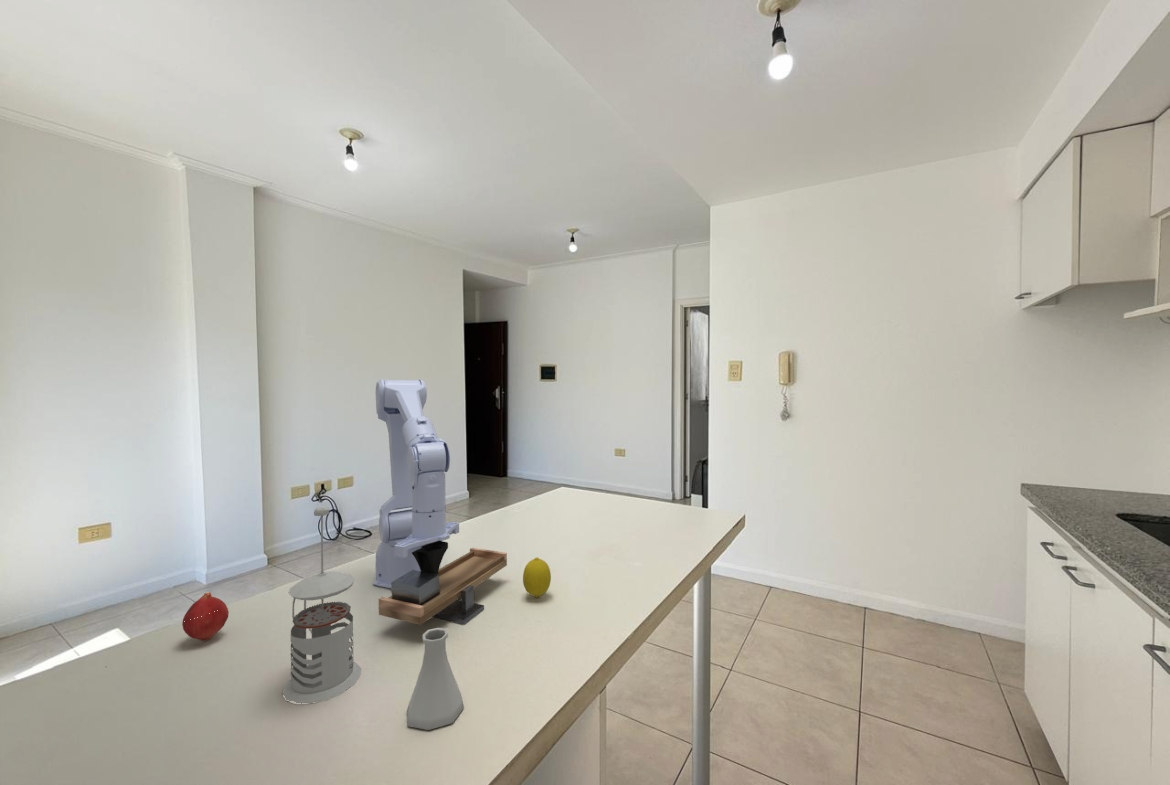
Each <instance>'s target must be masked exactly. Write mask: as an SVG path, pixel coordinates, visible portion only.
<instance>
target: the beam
mask: <svg viewBox="0 0 1170 785" xmlns="http://www.w3.org/2000/svg"><path fill="white" fill-rule="evenodd" d="M507 557H508V555H507V552H503V551H497V550H490V549H484V548H477V547H471V548H469V551H468V552H467V553H465V554H463V555H461V556H460V557H458V558H456V559H455V560H453V561H451V562H449V563H447V564H445V565H444V566H442V567H439V571H438V575H439V584H440V595H438V596H436V597H435V598H433V599H432V600H430V601H429V602H427V603H425V604H424V605H422V606H421V605H417V604H412V603H408V602H403V601H399V600H394V599H392V595H390V596H388V597H384V596H381V597H380V598H378V615H379V616H383V617H387V618H391V619H396V620H399V621H404V622H407V623H412V624H415V625H419V626H421V625H422V624H424V623H426V622H427V621H428V620H430V619H431V618H433V616H434V615H435V614H437V613H438V612H440V611H441V610H443V609H444V608H446V607H447V606H449V605H450V604H451V603H453V602H454V601H456V600H460V599H461V590H463V589H464V588H466V587H467V586H469V585H471V586H474V589H475V588H476V587H478V586H479V585H480V584H482V583H484V582H485V581H487V580H488V579H490V577H492V576H494V575H495V574H496V573H498V572H499V571H500V570H502V569H504V568H505V567H507V565H508V558H507Z"/></svg>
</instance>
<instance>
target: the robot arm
mask: <svg viewBox="0 0 1170 785" xmlns="http://www.w3.org/2000/svg"><path fill="white" fill-rule="evenodd" d="M427 390H428V388H427V385H426V383H425V381H424V380H423V379H383V378H380V379H379V380H378V381H376V385H375V406H376V407H375V408H376V414H377V419H379V420H380V421H383V422H384V423H385V425H386V427H387V433H388V444H389V445H388V448H389V461H390V462H389V464H390V480H391V491H392V492H391V493H392V496H391V497H389V499H387V500H386V501H385V502H384V503H383V504H382V505H381V507H380V509H379V517H378V518H379V519H378V531H379V533H378V534H379V539H380V541H381V542H380V544H378V546H377V549H376V552H375V580H374V581H373V582H372V585H373V586H377V587H382V588H387V589H391V590H392V588H391V582H393V581H394V580H396V579H398V578H399V577H401V576H403V575H404V574H406V573H408V572H410V571H411V570H416V571H422V572H427V573H433V574H438V571H439V569H440V568H441V563H442V561H443V558H444V557H445V554H446V552H447V551H448V549H449V542H448V541H446V540H449V539H450V537H451V535H453V534H454V535H457V534H459V533H460V522H457V521H450V522H446V520H447V519H446V508H447V506H446V473H447V472H448V471H449V469H450V465H451V464H450V462H451V455H450V448H449V445H448V442H447V441H445V440H443V438H439V437H438V434H437V432H436V429H435V427H434V424H433V421H432V420H431V419H430V418H428V417H427V416H425V414H424V408H425V404H426V403H427V400H428V399H427V396H428V394H427ZM409 508H411V509H409ZM403 509H405V510H403ZM397 510H398V511H397Z"/></svg>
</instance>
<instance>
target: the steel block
mask: <svg viewBox="0 0 1170 785" xmlns="http://www.w3.org/2000/svg"><path fill="white" fill-rule="evenodd" d="M391 588H392V589H391ZM391 588H390V589H391V596H392V599H394V600H399V601H403V602H408V603H412V604H417V605H421V606H422V605H424V604H425V603H427V602H429V601H430V600H432V599H433V598H435V597H436V596H438V595H440V584H439V575H438V574H433V573H427V572H422V571H416V570H411V571H410V572H408V573H406V574H404V575H403V576H401V577H399V578H398V579H396V580H394V581H393V582H391Z"/></svg>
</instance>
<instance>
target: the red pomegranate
mask: <svg viewBox="0 0 1170 785" xmlns="http://www.w3.org/2000/svg"><path fill="white" fill-rule="evenodd" d="M217 610H218V611H217ZM214 611H215V612H214ZM185 612H186V613H185V614H184V616H183V618H182V624H181V625H182V630H183V631H184V633H185V634H186V635H187V636H188V637H191V638H192V639H196V640H200V641H204V642H206V641H210V640H211V639H212V638H213V637H214V636H215V635H216V634H217V633H218V632H219V631H221V629H223V627H224V626H225V624H226V622H227V620H228V618H229V613H230V612H229V608H228V606H227V604H226V603H225V601H223V600H221V599H220V598H218V597H215V596H212V593H211V591H207V592H205V593H204V594H203V595H201V597H200V598H198V599H197V600H195V602H193V603H192V605H190V607H189V608H188V610H187V611H185ZM209 613H210V614H209ZM201 616H202V617H201ZM197 617H198V618H197ZM194 618H195V619H194ZM190 619H191V620H190ZM184 621H185V622H184Z"/></svg>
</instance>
